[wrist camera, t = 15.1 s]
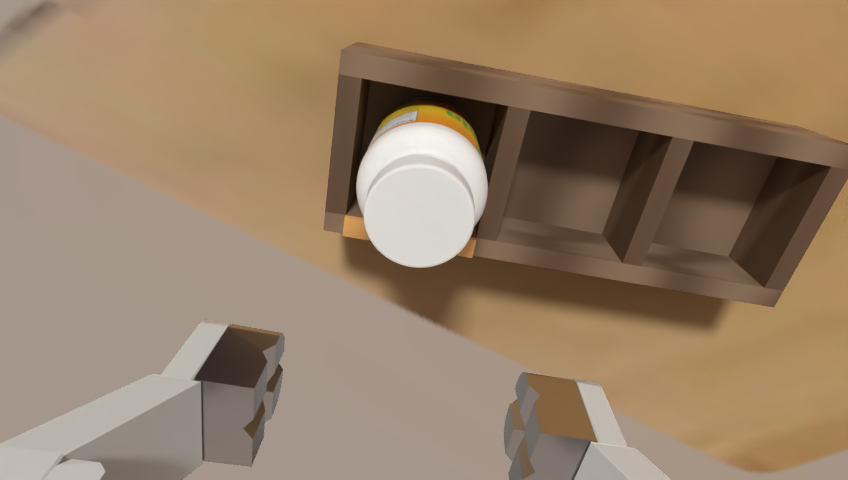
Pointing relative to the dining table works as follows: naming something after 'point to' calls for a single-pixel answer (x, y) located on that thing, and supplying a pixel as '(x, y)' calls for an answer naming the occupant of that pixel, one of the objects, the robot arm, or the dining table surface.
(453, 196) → the supplement bottle
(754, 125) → the box
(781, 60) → the dining table surface
